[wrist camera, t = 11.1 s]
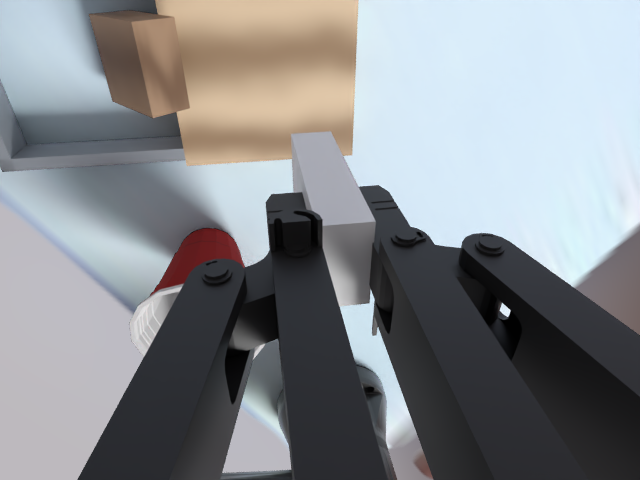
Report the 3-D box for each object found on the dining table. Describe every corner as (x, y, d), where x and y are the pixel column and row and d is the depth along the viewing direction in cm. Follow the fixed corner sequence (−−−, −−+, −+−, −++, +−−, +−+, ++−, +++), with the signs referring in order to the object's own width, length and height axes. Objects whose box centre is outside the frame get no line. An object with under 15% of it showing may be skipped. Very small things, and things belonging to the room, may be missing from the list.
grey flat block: (189, 146, 38) (185, 160, 35) (18, 156, 36) (2, 171, 34) (151, -62, 30) (143, -63, 27) (-74, -61, 28) (-104, -62, 25)
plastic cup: (131, 261, 44) (99, 352, 34) (193, 185, 40) (178, 262, 30) (221, 307, 49) (216, 397, 39) (282, 243, 45) (294, 325, 35)
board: (345, 142, 40) (352, 155, 37) (190, 151, 38) (186, 165, 36) (351, -71, 31) (361, -73, 28) (149, -71, 29) (141, -73, 27)
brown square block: (190, 108, 32) (153, 118, 30) (148, 93, 35) (112, 101, 33) (174, 16, 28) (131, 21, 26) (129, 10, 32) (88, 14, 30)
